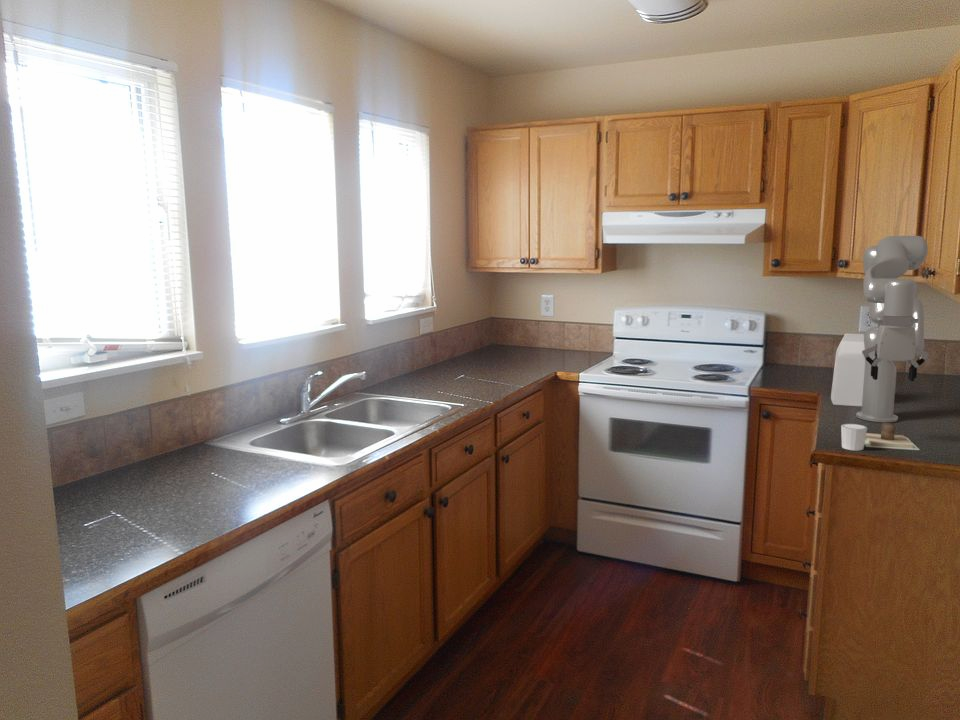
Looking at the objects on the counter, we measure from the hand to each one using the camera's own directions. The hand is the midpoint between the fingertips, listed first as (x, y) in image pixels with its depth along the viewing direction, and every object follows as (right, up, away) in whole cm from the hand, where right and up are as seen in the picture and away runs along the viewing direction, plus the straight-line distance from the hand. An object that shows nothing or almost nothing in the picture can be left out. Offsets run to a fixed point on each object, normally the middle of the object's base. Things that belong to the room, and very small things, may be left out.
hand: (892, 379), depth 212 cm
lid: (0, -19, +3) cm, 19 cm away
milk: (+17, -10, +58) cm, 61 cm away
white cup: (-13, -21, -2) cm, 24 cm away
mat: (0, -19, +3) cm, 20 cm away
